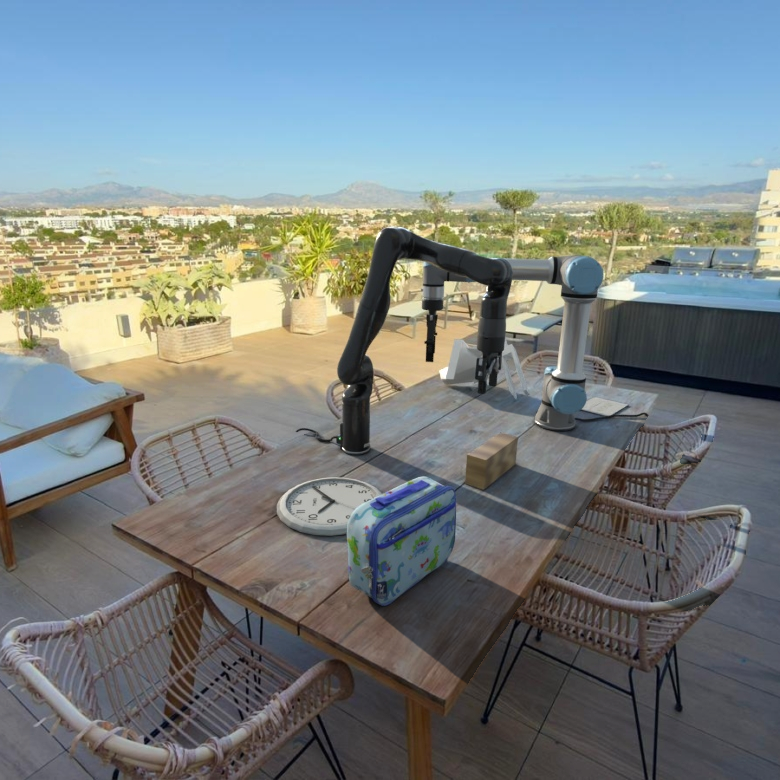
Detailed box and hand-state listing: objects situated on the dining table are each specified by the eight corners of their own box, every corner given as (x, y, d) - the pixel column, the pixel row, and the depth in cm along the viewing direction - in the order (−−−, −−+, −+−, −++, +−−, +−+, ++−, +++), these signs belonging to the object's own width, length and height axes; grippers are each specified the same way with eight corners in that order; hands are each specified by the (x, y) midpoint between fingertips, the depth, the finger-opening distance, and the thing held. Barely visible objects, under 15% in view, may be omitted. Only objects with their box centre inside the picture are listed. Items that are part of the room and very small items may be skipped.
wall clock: (392, 527, 129) (268, 531, 127) (391, 533, 130) (269, 537, 127) (383, 473, 158) (282, 475, 155) (383, 478, 158) (282, 480, 156)
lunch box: (376, 619, 101) (377, 524, 95) (340, 592, 109) (339, 502, 102) (459, 562, 119) (465, 479, 113) (424, 542, 126) (427, 463, 120)
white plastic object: (461, 429, 252) (437, 405, 227) (444, 352, 274) (420, 323, 250) (535, 404, 240) (518, 377, 215) (510, 326, 262) (492, 293, 237)
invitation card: (608, 416, 214) (573, 407, 224) (608, 416, 214) (573, 408, 224) (628, 404, 229) (594, 396, 238) (628, 405, 229) (594, 397, 238)
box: (498, 458, 173) (500, 432, 171) (515, 464, 170) (518, 436, 167) (464, 483, 156) (466, 454, 153) (483, 490, 153) (486, 460, 150)
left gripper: (487, 328, 151) (483, 381, 156) (468, 336, 139) (465, 393, 144) (513, 330, 147) (508, 385, 152) (495, 339, 136) (490, 398, 141)
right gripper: (424, 293, 195) (422, 349, 202) (419, 302, 172) (417, 365, 178) (444, 294, 195) (441, 350, 201) (442, 303, 171) (439, 366, 177)
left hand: (487, 389), depth 148 cm, fingers open, 8 cm apart
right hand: (430, 357), depth 190 cm, fingers open, 13 cm apart
